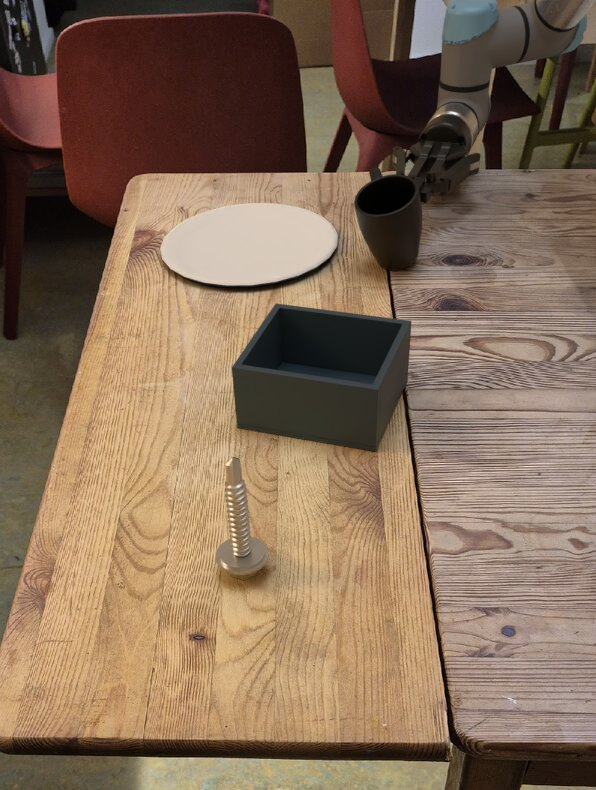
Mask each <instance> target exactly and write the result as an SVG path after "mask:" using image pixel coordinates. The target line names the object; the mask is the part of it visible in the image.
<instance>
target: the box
mask: <svg viewBox="0 0 596 790" xmlns="http://www.w3.org/2000/svg"><path fill="white" fill-rule="evenodd" d="M411 335H412V320H407V319H399V318H392V317H391V318H390V317H385V316H384V317H383V316H377V315H370V314H369V315H367V314H359V313H353V312H347V311H346V312H344V311H338V310H330V309H323V308H314V307H307V306H298V305H291V304H284V303H283V304H282V303H275V304H274V305H273V307H272V308H271V309H270V311H269V312H268V314H267V315H266V316H265V318H264V320H263V321H262V322H261V324H260V325H259V327H258V329H257V330H256V331H255V333H254V334H253V335H252V337H251V338H250V340H249V341H248V343H247V345H246V346H245V347H244V349H243V350H242V352H241V353H240V354H239V356H238V358H237V359H236V360H235V361H234V364H232V366H231V375H232V387H233V397H234V399H233V400H234V410H235V418H236V427H237V429H242V430H246V431H247V430H248V431H254V432H259V433H265V434H271V435H277V436H281V437H283V436H284V437H287V438H293V439H294V438H295V439H301V440H306V441H310V442H311V441H312V442H318V443H323V444H328V445H329V444H330V445H335V446H340V447H345V448H346V447H347V448H353V449H359V450H364V451H370V452H377V450H378V447H379V445H380V443H381V441H382V439H383V436H384V434H385V432H386V430H387V427H388V425H389V423H390V421H391V419H392V417H393V415H394V412H395V410H396V408H397V406H398V403H399V402H400V399H401V397H402V394H403V392H404V390H405V388H406V386H407V384H408V382H409V381H408V380H409V364H410V350H411V349H410V348H411Z"/></svg>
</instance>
